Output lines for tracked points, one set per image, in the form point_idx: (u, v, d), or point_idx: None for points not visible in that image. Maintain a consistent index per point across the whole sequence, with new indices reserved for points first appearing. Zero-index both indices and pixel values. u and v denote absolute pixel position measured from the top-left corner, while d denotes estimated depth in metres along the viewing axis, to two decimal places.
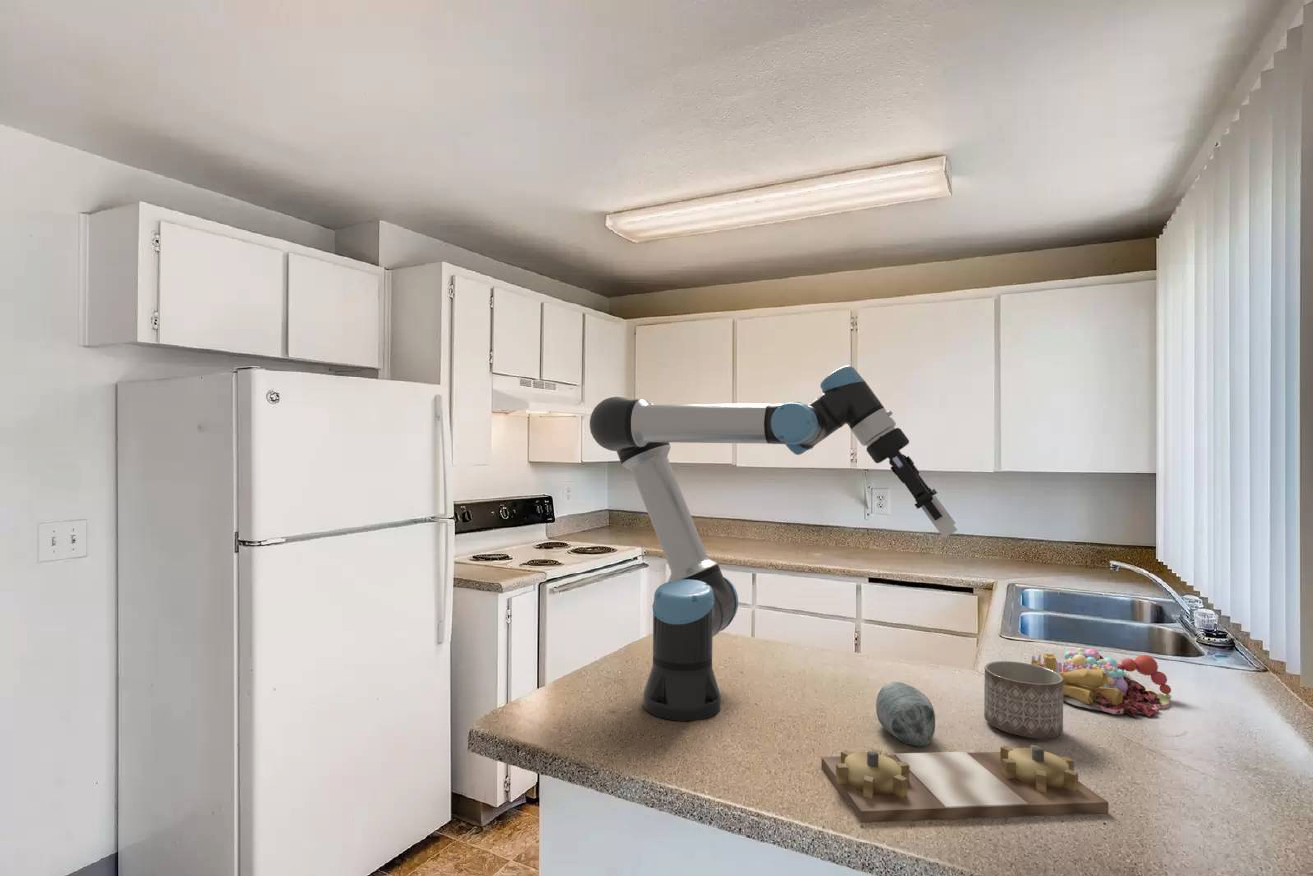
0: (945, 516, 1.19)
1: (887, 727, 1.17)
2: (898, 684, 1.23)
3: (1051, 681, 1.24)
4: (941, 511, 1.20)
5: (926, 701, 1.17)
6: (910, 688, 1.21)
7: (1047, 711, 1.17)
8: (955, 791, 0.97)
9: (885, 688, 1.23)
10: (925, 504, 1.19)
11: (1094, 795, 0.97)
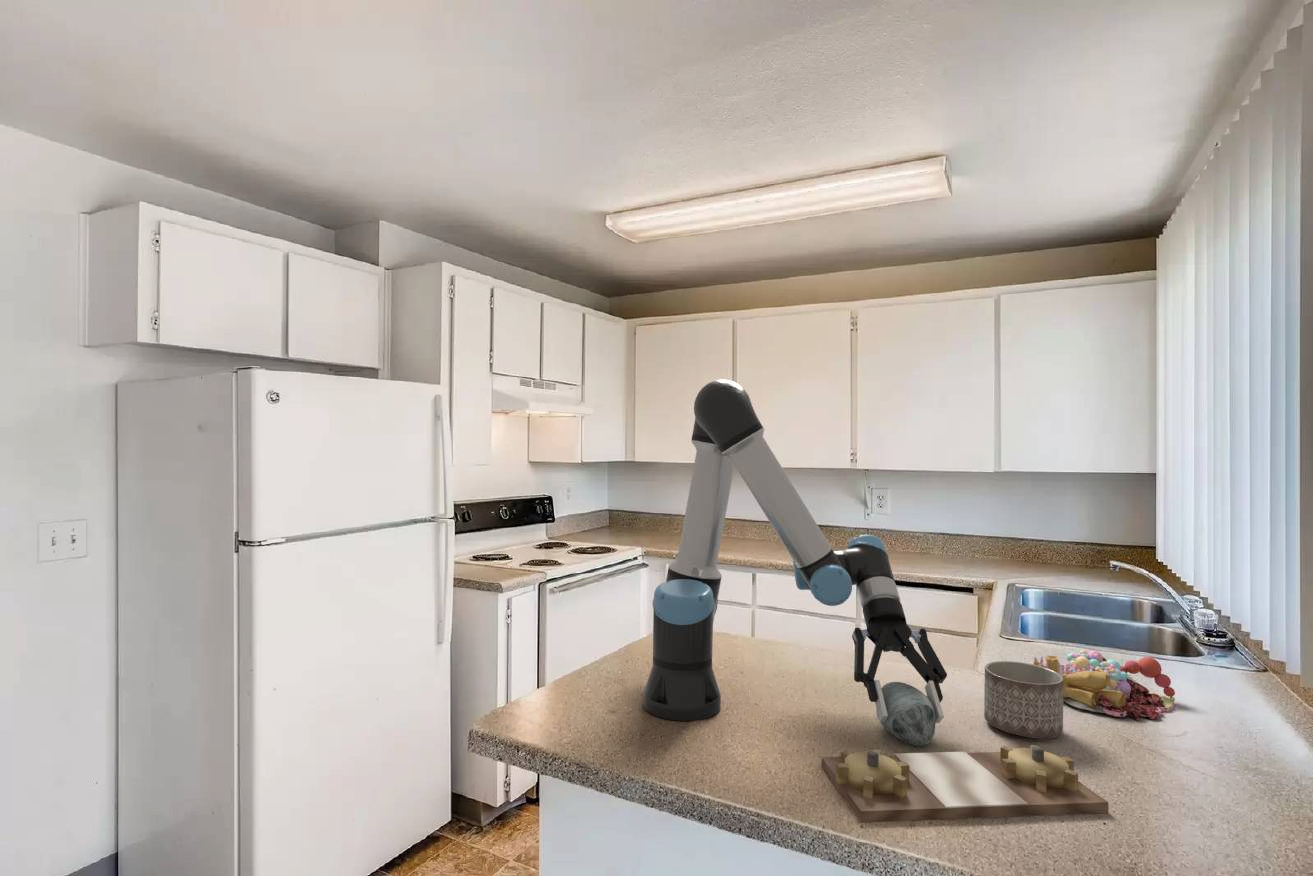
0: None
1: (887, 727, 1.17)
2: (898, 684, 1.23)
3: (1051, 681, 1.24)
4: None
5: (926, 701, 1.17)
6: (910, 688, 1.21)
7: (1047, 711, 1.17)
8: (955, 791, 0.97)
9: (885, 688, 1.23)
10: None
11: (1094, 795, 0.97)
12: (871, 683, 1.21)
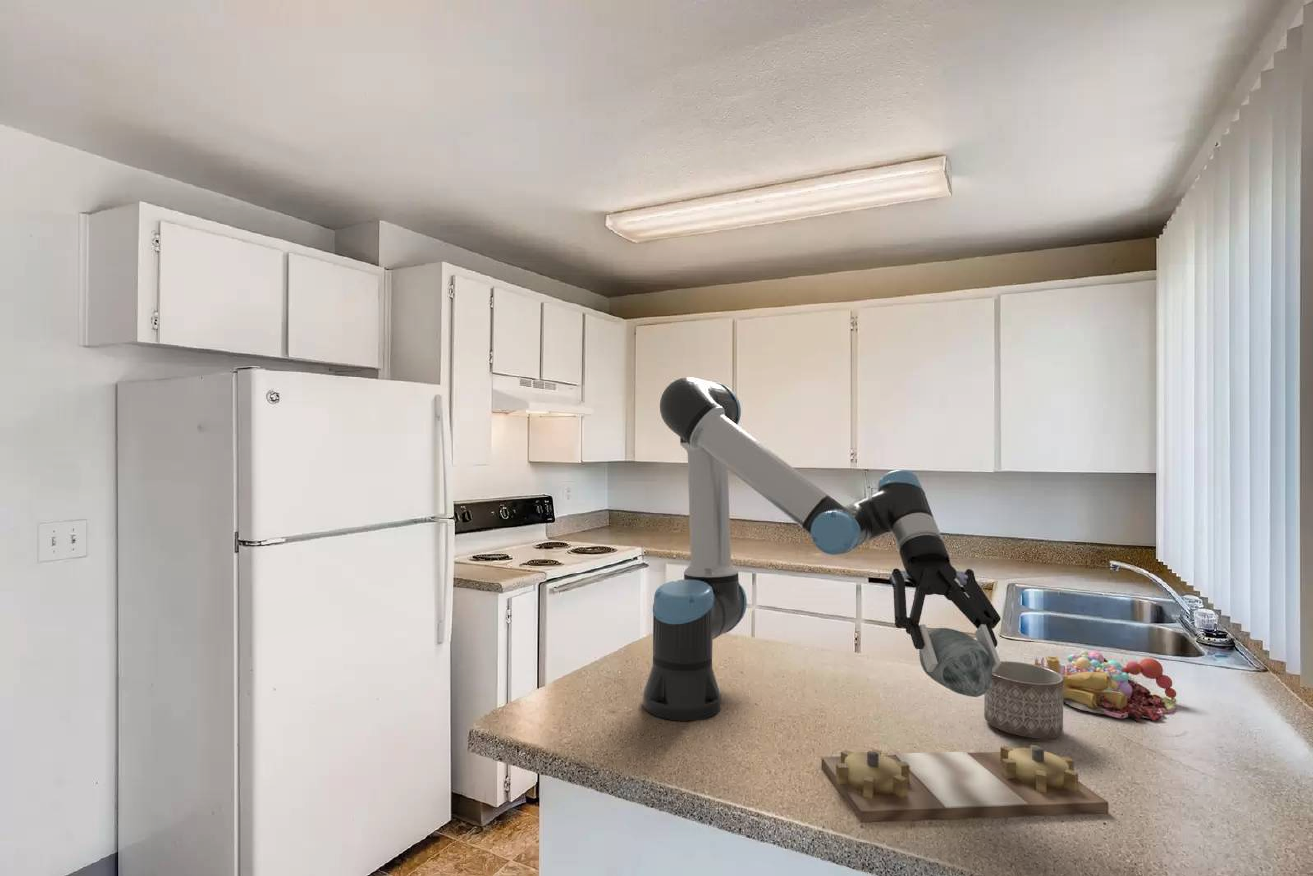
0: None
1: (936, 676, 1.02)
2: (946, 630, 1.08)
3: (1051, 681, 1.24)
4: None
5: (981, 646, 1.02)
6: (960, 633, 1.06)
7: (1047, 711, 1.17)
8: (955, 791, 0.97)
9: (930, 634, 1.08)
10: None
11: (1094, 795, 0.97)
12: (916, 628, 1.06)
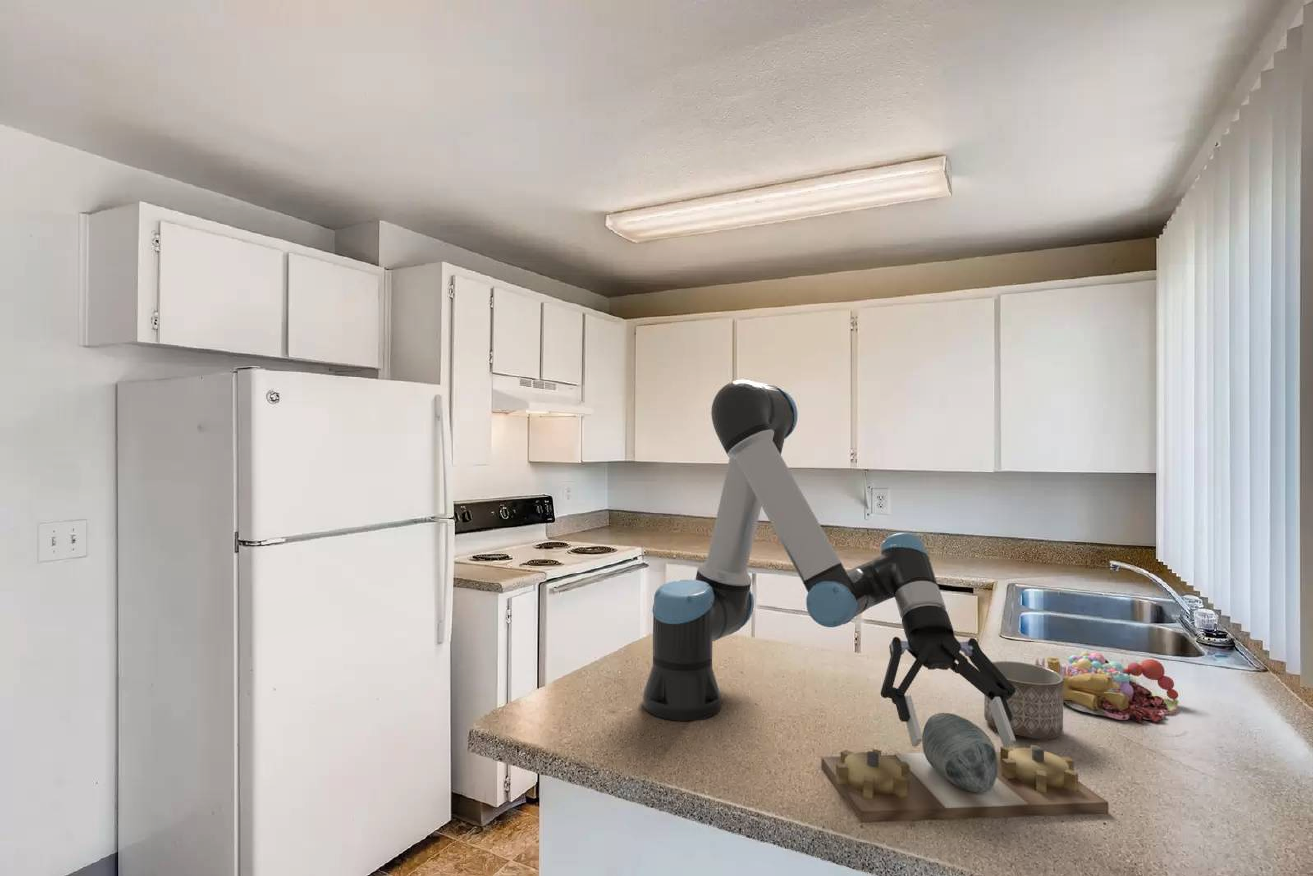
0: None
1: (939, 769, 0.99)
2: (949, 716, 1.04)
3: (1051, 681, 1.24)
4: None
5: (986, 738, 0.98)
6: (964, 721, 1.02)
7: (1047, 711, 1.17)
8: (955, 791, 0.97)
9: (933, 720, 1.04)
10: (1005, 699, 1.04)
11: (1094, 795, 0.97)
12: (901, 699, 1.03)
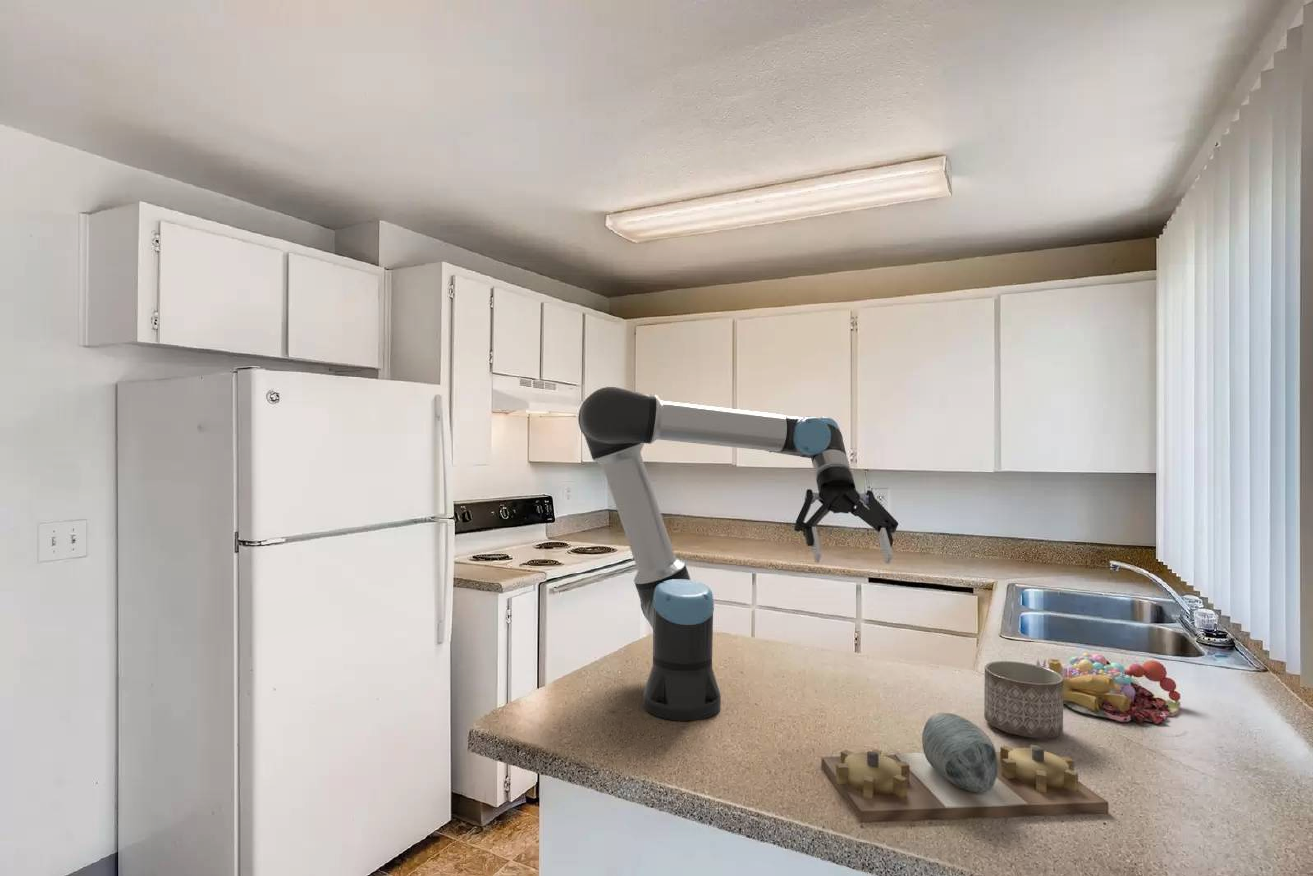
0: None
1: (939, 769, 0.99)
2: (949, 716, 1.04)
3: (1051, 681, 1.24)
4: None
5: (986, 738, 0.98)
6: (964, 721, 1.02)
7: (1047, 711, 1.17)
8: (955, 791, 0.97)
9: (933, 720, 1.04)
10: (890, 530, 1.33)
11: (1094, 795, 0.97)
12: (808, 530, 1.33)
